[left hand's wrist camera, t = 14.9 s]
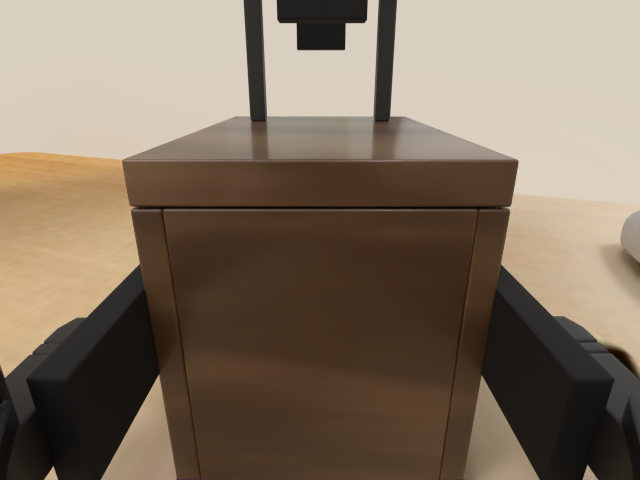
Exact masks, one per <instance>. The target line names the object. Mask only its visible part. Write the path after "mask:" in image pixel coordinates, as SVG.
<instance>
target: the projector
mask: <svg viewBox="0 0 640 480" xmlns="http://www.w3.org/2000/svg"><path fill="white" fill-rule="evenodd" d="M621 244H622V245H623V247H624V248H625V249H626V250H627V251H628V253H629V254H630V255H631V256H632V257H634V258H635V259H636V260H637V261H638V262H639V263H640V210H639V211H637V212H635V213H633V214H631V215H630V216H629V217H628V218H627V219H626V221H625V223H624V225H623V228H622V232H621Z"/></svg>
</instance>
